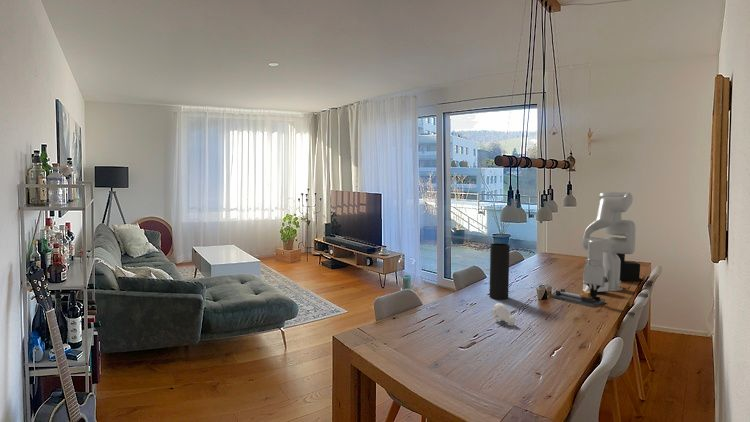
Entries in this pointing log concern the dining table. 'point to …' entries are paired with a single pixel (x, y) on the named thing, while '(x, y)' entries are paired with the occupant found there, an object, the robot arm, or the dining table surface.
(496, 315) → the white rounded lump
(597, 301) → the plate
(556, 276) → the dining table surface
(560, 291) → the strap
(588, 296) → the block
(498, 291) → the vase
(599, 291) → the spread jar
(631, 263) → the bookend
